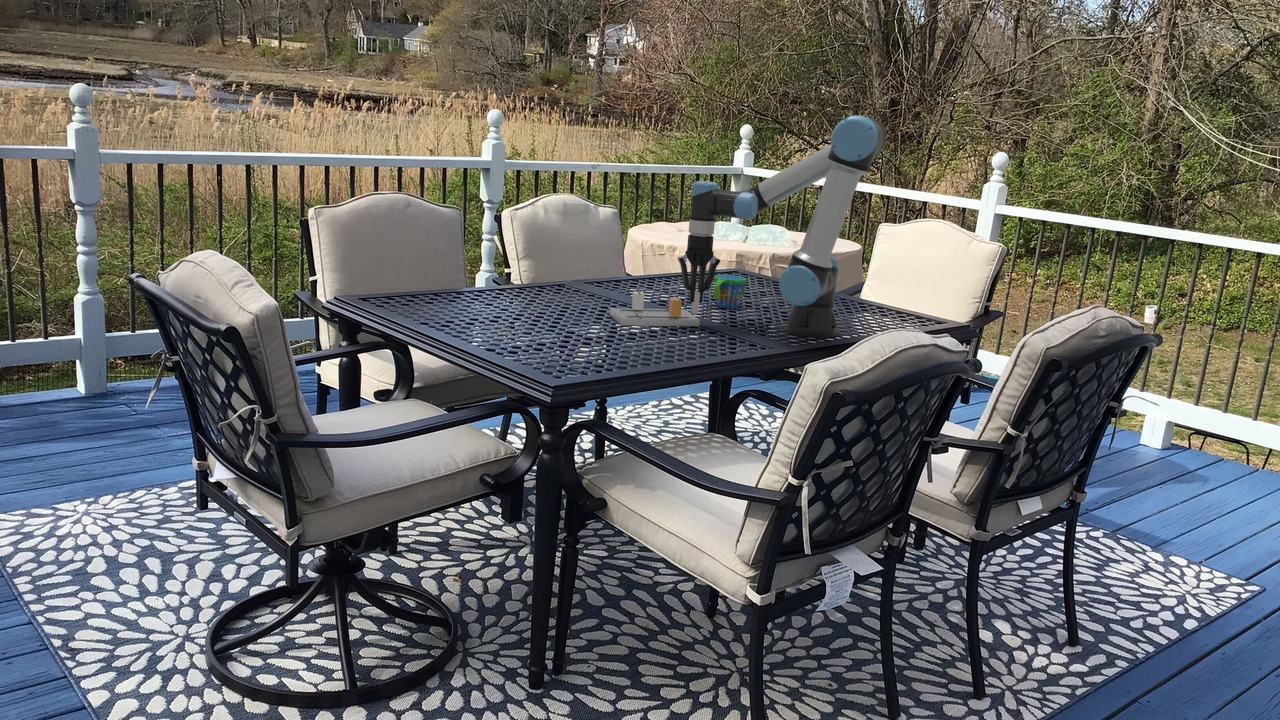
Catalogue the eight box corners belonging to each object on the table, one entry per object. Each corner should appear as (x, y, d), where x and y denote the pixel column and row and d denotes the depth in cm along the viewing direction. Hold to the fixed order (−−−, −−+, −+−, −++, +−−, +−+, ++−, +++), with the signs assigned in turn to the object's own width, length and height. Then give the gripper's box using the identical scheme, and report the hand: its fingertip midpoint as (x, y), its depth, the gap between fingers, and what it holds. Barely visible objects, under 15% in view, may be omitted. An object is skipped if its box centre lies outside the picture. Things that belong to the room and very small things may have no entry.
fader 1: (643, 310, 299) (644, 292, 298) (634, 309, 299) (635, 292, 297) (640, 307, 303) (641, 290, 302) (631, 307, 302) (632, 290, 301)
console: (699, 326, 293) (699, 319, 292) (621, 325, 287) (621, 318, 286) (684, 315, 308) (684, 308, 308) (609, 314, 303) (609, 307, 302)
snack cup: (731, 302, 336) (733, 273, 334) (755, 308, 329) (757, 278, 327) (700, 306, 326) (702, 276, 323) (724, 312, 319) (726, 281, 316)
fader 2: (680, 317, 292) (682, 299, 291) (671, 317, 291) (672, 299, 290) (677, 314, 296) (678, 297, 294) (668, 314, 295) (669, 297, 294)
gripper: (718, 233, 294) (711, 310, 300) (676, 232, 291) (670, 310, 297) (725, 236, 287) (719, 315, 293) (683, 235, 284) (677, 315, 290)
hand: (694, 312), depth 295 cm, fingers closed
